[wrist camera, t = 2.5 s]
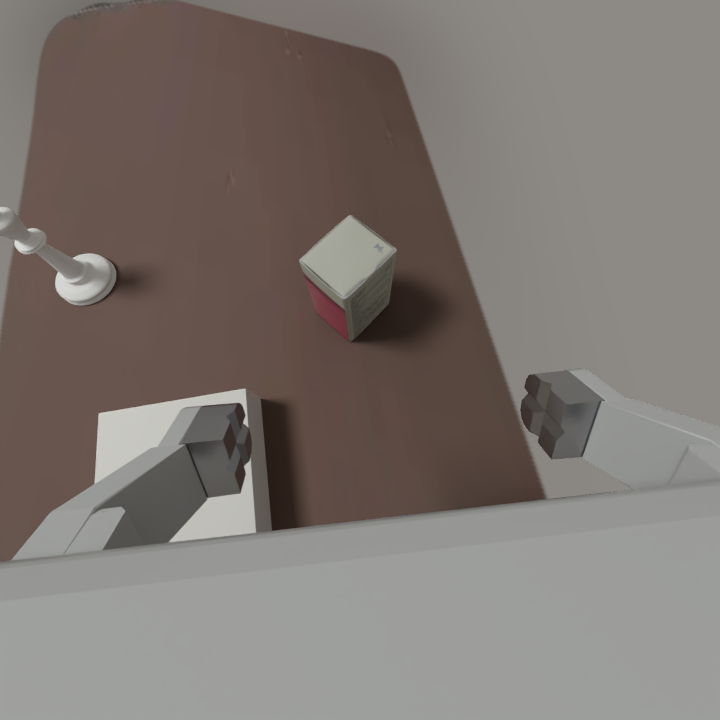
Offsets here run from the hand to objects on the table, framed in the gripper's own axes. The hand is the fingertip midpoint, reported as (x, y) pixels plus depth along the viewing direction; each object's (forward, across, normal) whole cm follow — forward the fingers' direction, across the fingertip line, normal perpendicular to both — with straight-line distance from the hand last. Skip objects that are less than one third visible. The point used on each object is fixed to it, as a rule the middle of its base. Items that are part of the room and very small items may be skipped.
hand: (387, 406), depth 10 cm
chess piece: (+24, -23, -1) cm, 34 cm away
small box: (+20, 0, -4) cm, 21 cm away
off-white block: (+12, -13, -13) cm, 22 cm away
